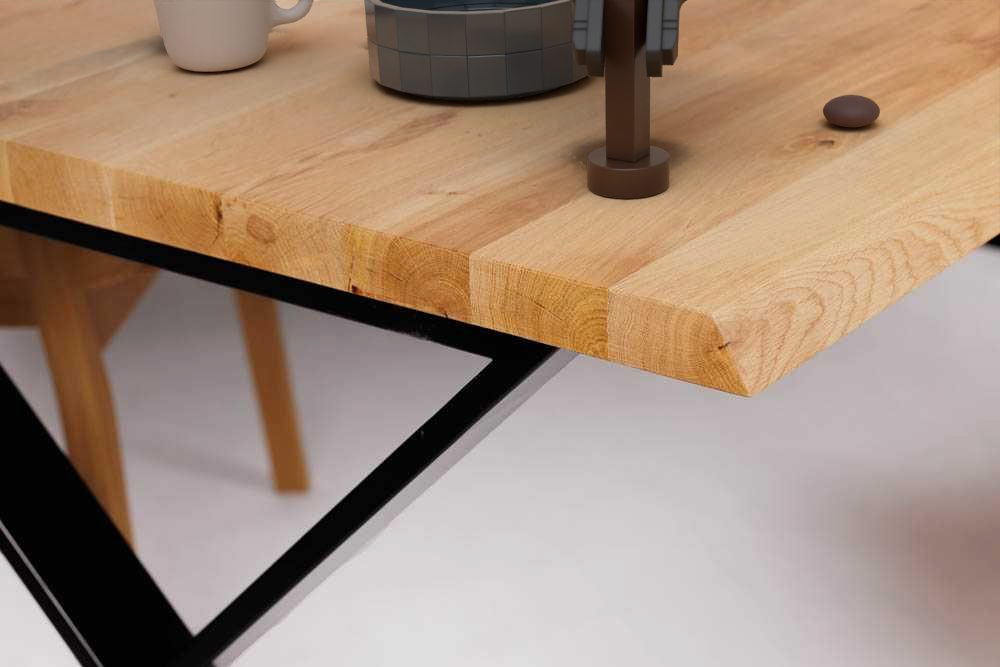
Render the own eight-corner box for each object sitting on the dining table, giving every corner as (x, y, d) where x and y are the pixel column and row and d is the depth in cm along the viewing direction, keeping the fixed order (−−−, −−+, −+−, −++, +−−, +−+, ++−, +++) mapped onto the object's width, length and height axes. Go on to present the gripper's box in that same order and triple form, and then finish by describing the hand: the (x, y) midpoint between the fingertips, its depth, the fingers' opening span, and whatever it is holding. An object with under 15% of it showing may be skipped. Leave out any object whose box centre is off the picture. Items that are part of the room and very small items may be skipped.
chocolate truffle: (821, 132, 77) (822, 104, 76) (822, 116, 80) (824, 88, 79) (879, 134, 76) (881, 105, 76) (878, 117, 79) (881, 89, 78)
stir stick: (644, 204, 68) (644, -32, 64) (572, 191, 70) (566, -38, 66) (683, 178, 71) (686, -48, 67) (612, 167, 73) (610, -54, 69)
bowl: (518, 119, 81) (514, 22, 79) (325, 90, 89) (316, 0, 86) (639, 60, 92) (639, -27, 90) (457, 38, 99) (453, -43, 97)
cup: (309, 39, 101) (297, -78, 98) (332, 65, 94) (320, -60, 91) (153, 56, 98) (135, -63, 95) (165, 85, 91) (146, -43, 88)
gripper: (493, -288, 69) (462, 26, 64) (786, -300, 67) (782, 24, 62) (513, -183, 76) (487, 108, 71) (779, -191, 74) (774, 109, 69)
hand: (624, 67), depth 66 cm, fingers closed on stir stick, 2 cm apart
